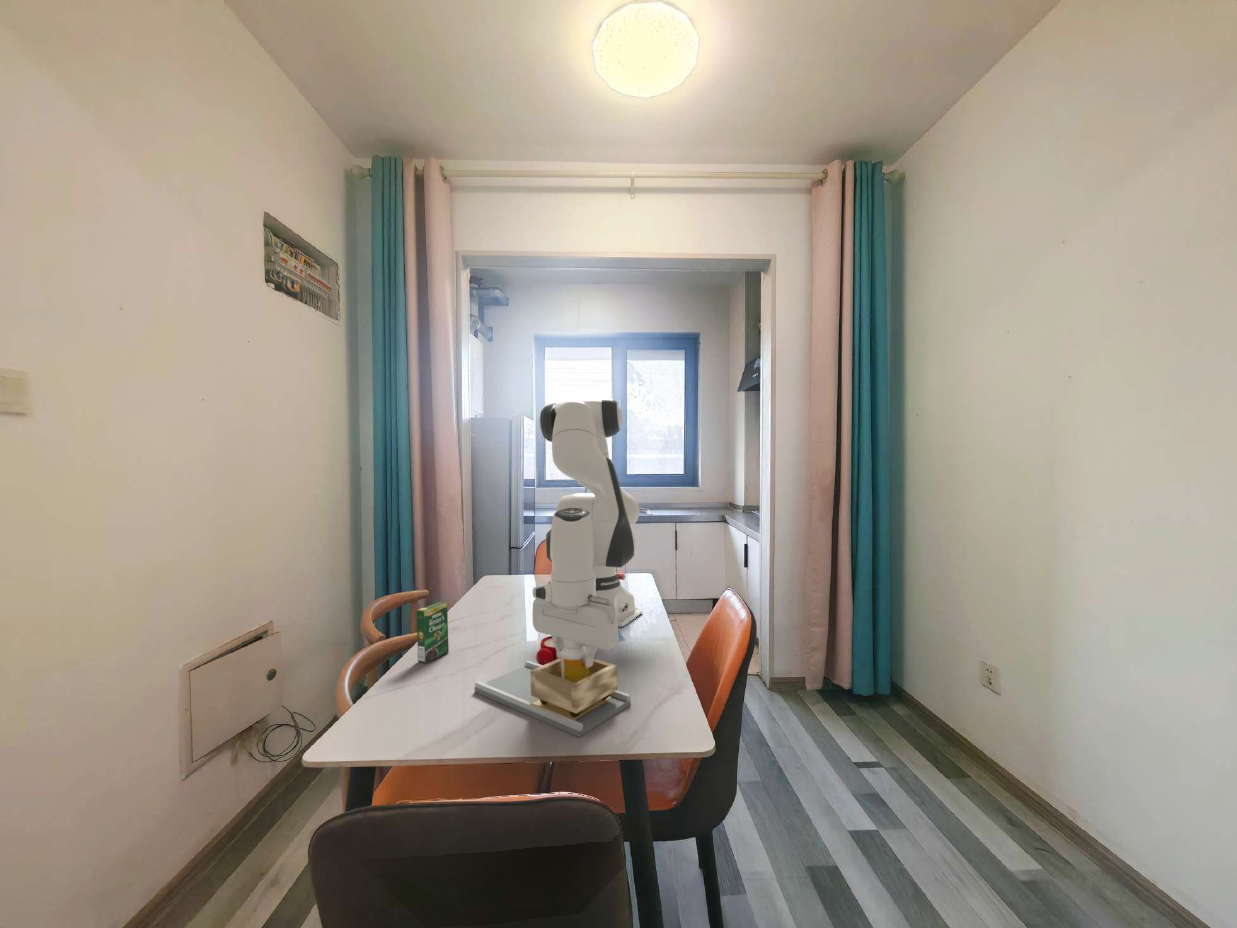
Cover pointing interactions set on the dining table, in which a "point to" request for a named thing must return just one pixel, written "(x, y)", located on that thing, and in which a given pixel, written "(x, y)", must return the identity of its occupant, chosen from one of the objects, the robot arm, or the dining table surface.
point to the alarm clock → (547, 651)
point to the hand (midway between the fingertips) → (574, 661)
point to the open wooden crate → (573, 686)
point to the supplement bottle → (573, 661)
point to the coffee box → (432, 632)
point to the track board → (517, 695)
